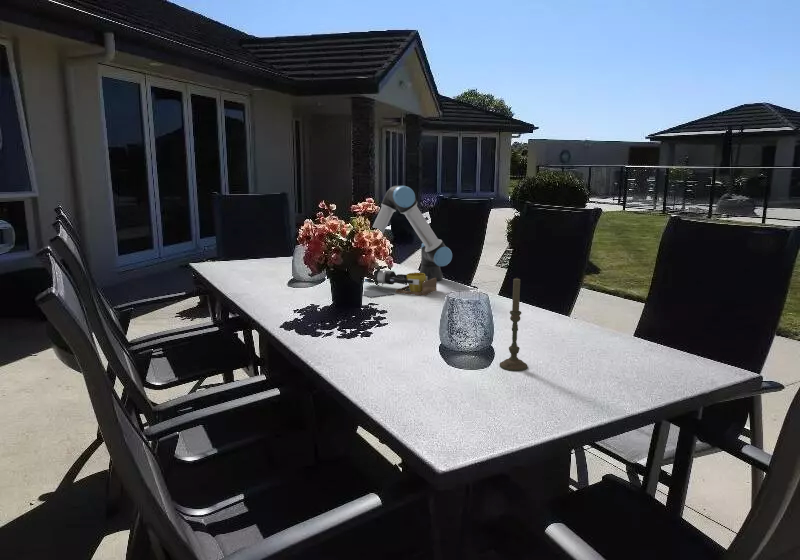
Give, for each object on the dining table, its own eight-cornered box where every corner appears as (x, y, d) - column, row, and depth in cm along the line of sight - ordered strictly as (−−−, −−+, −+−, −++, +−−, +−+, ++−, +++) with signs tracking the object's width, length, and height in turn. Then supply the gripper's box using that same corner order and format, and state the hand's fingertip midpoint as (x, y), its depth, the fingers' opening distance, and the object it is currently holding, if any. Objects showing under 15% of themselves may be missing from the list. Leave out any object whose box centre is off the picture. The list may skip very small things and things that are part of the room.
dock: (395, 292, 302) (395, 280, 301) (408, 287, 317) (408, 275, 316) (424, 295, 295) (424, 282, 294) (436, 290, 310) (436, 277, 308)
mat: (379, 290, 310) (379, 289, 310) (394, 294, 298) (394, 293, 298) (356, 293, 302) (356, 292, 302) (370, 297, 290) (370, 296, 290)
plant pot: (404, 292, 303) (404, 275, 301) (409, 289, 312) (409, 272, 311) (422, 293, 300) (422, 276, 298) (427, 290, 309) (427, 273, 308)
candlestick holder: (528, 363, 186) (531, 275, 181) (527, 372, 178) (531, 279, 172) (500, 361, 189) (503, 274, 183) (498, 369, 180) (501, 278, 175)
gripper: (396, 280, 324) (431, 283, 314) (377, 287, 303) (414, 290, 294) (396, 268, 322) (431, 270, 312) (377, 273, 302) (414, 277, 292)
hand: (423, 280), depth 303 cm, fingers closed on plant pot, 10 cm apart
